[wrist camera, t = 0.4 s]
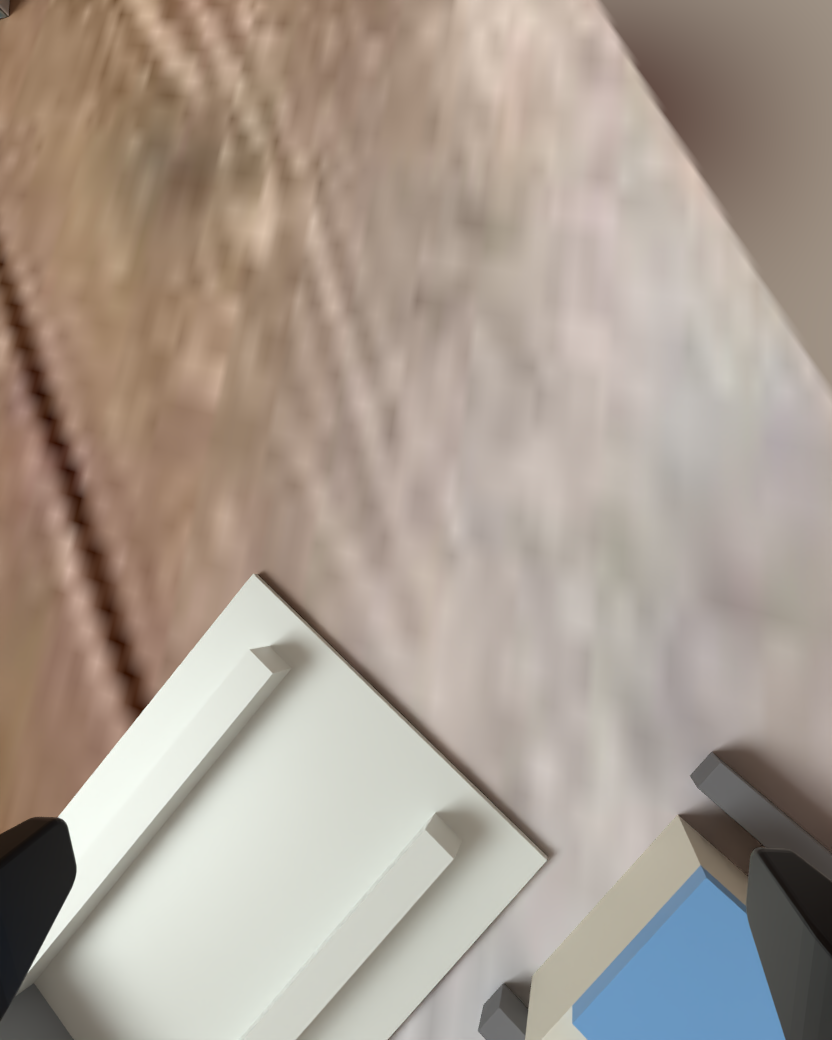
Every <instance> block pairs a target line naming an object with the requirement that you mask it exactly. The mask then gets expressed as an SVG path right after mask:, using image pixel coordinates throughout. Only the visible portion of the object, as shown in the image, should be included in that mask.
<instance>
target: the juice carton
mask: <svg viewBox="0 0 832 1040" xmlns="http://www.w3.org/2000/svg"><path fill="white" fill-rule="evenodd" d="M9 2H10V0H0V19H2V18H5V17H9Z"/></svg>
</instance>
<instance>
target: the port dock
mask: <svg viewBox="0 0 832 1040" xmlns="http://www.w3.org/2000/svg"><path fill="white" fill-rule="evenodd" d="M58 818H61V819H63V820H64V821H65V822H66V823H67V826H68V829H69V833H70V838H71V842H72V847H73V851H74V855H75V860H76V865H77V873H76V878H75V881H74V884H73V887H72V889H71V891H70V893H69V895H68V897H67V899H66V900H65V902H64V904H63V906H62V908H61V910H60V912H59V914H58V916H57V918H56V920H55V922H54V923H53V925H52V927H51V929H50V931H49V933H48V935H47V937H46V939H45V941H44V943H43V945H42V946H41V948H40V950H39V952H38V954H37V956H36V958H35V960H34V962H33V964H32V966H31V968H30V969H29V971H28V973H27V975H26V977H25V979H24V981H23V983H22V985H21V987H20V988H19V990H18V992H17V994H16V996H15V997H14V999H13V1001H12V1003H11V1005H10V1007H9V1008H8V1010H7V1012H6V1013H5V1015H4V1017H3V1018H2V1020H1V1022H0V1040H388V1039H389V1037H390V1036H391V1035H392V1034H393V1033H394V1032H395V1031H396V1030H397V1028H398V1027H399V1026H400V1025H401V1024H402V1023H403V1022H404V1021H405V1019H406V1018H407V1017H408V1016H409V1015H410V1014H411V1013H412V1012H413V1010H414V1009H415V1008H416V1007H417V1006H418V1005H419V1004H420V1003H421V1001H422V1000H423V999H424V998H425V997H426V996H427V995H428V994H429V992H430V991H431V990H432V989H433V988H434V987H435V986H436V985H437V983H438V982H439V981H440V980H441V979H442V978H443V977H444V976H445V974H446V973H447V972H448V971H449V970H450V969H451V968H452V967H453V965H454V964H455V963H456V962H457V961H458V960H459V959H460V958H461V956H462V955H463V954H464V953H465V952H466V951H467V950H468V949H469V947H470V946H471V945H472V944H473V943H474V942H475V941H476V940H477V939H478V937H479V936H480V935H481V934H482V933H483V932H484V931H485V930H486V928H487V927H488V926H489V925H490V924H491V923H492V922H493V921H494V919H495V918H496V917H497V916H498V915H499V914H500V913H501V912H502V910H503V909H504V908H505V907H506V906H507V905H508V904H509V903H510V901H511V900H512V899H513V898H514V897H515V896H516V895H517V894H518V892H519V891H520V890H521V889H522V888H523V887H524V886H525V885H526V883H527V882H528V881H529V880H530V879H531V878H532V877H533V876H534V874H535V873H536V872H537V871H538V870H539V869H540V868H541V867H542V865H543V864H544V863H545V862H546V861H547V856H546V855H545V854H544V853H543V852H542V851H541V850H540V849H539V848H538V847H537V846H536V845H535V844H534V843H533V842H532V841H531V840H530V839H529V838H528V837H527V836H526V835H525V834H524V833H523V832H522V831H521V830H520V829H519V828H518V827H517V826H516V825H515V824H514V823H513V822H511V821H510V820H509V819H508V818H507V817H506V816H505V815H504V814H503V813H502V812H501V811H500V810H499V809H498V808H497V807H496V806H495V805H494V804H493V803H492V802H491V801H490V800H489V799H488V798H487V797H486V796H485V795H484V794H483V793H482V792H481V791H480V790H479V789H478V788H477V787H475V786H474V785H473V784H472V783H471V782H470V781H469V780H468V779H467V778H466V777H465V776H464V775H463V774H462V773H461V772H460V771H459V770H458V769H457V768H456V767H455V766H454V765H453V764H452V763H451V762H450V761H449V760H448V759H447V758H446V757H445V756H444V755H443V754H442V753H441V752H440V751H438V750H437V749H436V748H435V747H434V746H433V745H432V744H431V743H430V742H429V741H428V740H427V739H426V738H425V737H424V736H423V735H422V734H421V733H420V732H419V731H418V730H417V729H416V728H415V727H414V726H413V725H412V724H411V723H410V722H409V721H408V720H407V719H406V718H405V717H404V716H402V715H401V714H400V713H399V712H398V711H397V710H396V709H395V708H394V707H393V706H392V705H391V704H390V703H389V702H388V701H387V700H386V699H385V698H384V697H383V696H382V695H381V694H380V693H379V692H378V691H377V690H376V689H375V688H374V687H373V686H372V685H371V684H370V683H369V682H368V681H367V680H365V679H364V678H363V677H362V676H361V675H360V674H359V673H358V672H357V671H356V670H355V669H354V668H353V667H352V666H351V665H350V664H349V663H348V662H347V661H346V660H345V659H344V658H343V657H342V656H341V655H340V654H339V653H338V652H337V651H336V650H335V649H334V648H333V647H332V646H331V645H329V644H328V643H327V642H326V641H325V640H324V639H323V638H322V637H321V636H320V635H319V634H318V633H317V632H316V631H315V630H314V629H313V628H312V627H311V626H310V625H309V624H308V623H307V622H306V621H305V620H304V619H303V618H302V617H301V616H300V615H299V614H298V613H297V612H296V611H295V610H293V609H292V608H291V607H290V606H289V605H288V604H287V603H286V602H285V601H284V600H283V599H282V598H281V597H280V596H279V595H278V594H277V593H276V592H275V591H274V590H273V589H272V588H271V587H270V586H269V585H268V584H267V583H266V582H265V581H264V580H263V579H262V578H261V577H260V576H259V575H258V574H253V575H252V576H251V577H250V578H249V580H248V581H247V582H246V583H245V585H244V586H243V587H242V588H241V590H240V591H239V592H238V593H237V595H236V596H235V597H234V598H233V599H232V601H231V602H230V603H229V604H228V606H227V607H226V608H225V609H224V611H223V612H222V613H221V614H220V616H219V617H218V618H217V619H216V621H215V622H214V623H213V624H212V626H211V627H210V628H209V629H208V631H207V632H206V633H205V634H204V636H203V637H202V638H201V639H200V641H199V642H198V643H197V644H196V646H195V647H194V648H193V649H192V651H191V652H190V653H189V654H188V656H187V657H186V658H185V659H184V661H183V662H182V663H181V664H180V666H179V667H178V668H177V669H176V671H175V672H174V673H173V674H172V676H171V677H170V678H169V679H168V681H167V682H166V683H165V684H164V686H163V687H162V688H161V689H160V691H159V692H158V693H157V694H156V696H155V697H154V698H153V699H152V701H151V702H150V703H149V704H148V706H147V707H146V708H145V709H144V711H143V712H142V713H141V714H140V716H139V717H138V718H137V719H136V720H135V722H134V723H133V724H132V725H131V727H130V728H129V729H128V730H127V732H126V733H125V734H124V735H123V737H122V738H121V739H120V740H119V742H118V743H117V744H116V745H115V747H114V748H113V749H112V750H111V752H110V753H109V754H108V755H107V757H106V758H105V759H104V760H103V762H102V763H101V764H100V765H99V767H98V768H97V769H96V770H95V772H94V773H93V774H92V775H91V777H90V778H89V779H88V780H87V782H86V783H85V784H84V785H83V787H82V788H81V789H80V790H79V792H78V793H77V794H76V795H75V797H74V798H73V799H72V800H71V802H70V803H69V804H68V805H67V807H66V808H65V809H64V810H63V812H62V813H61V814H60V815H59V817H58Z"/></svg>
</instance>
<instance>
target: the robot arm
mask: <svg viewBox="0 0 832 1040" xmlns="http://www.w3.org/2000/svg"><path fill="white" fill-rule="evenodd" d="M76 873H77V865H76V860H75V855H74V851H73V847H72V842H71V838H70V833H69V829H68V826H67V823H66V822H65V821H64V820H63V819H61V818H57V817H34V818H30V819H28V820H26V821H24V822H22V823H21V824H19V825H17V826H15V827H13V828H11V829H9V830H7V831H5V832H4V833H2V834H0V1022H1V1020H2V1018H3V1017H4V1015H5V1013H6V1012H7V1010H8V1008H9V1007H10V1005H11V1003H12V1001H13V999H14V997H15V996H16V994H17V992H18V990H19V988H20V987H21V985H22V983H23V981H24V979H25V977H26V975H27V973H28V971H29V969H30V968H31V966H32V964H33V962H34V960H35V958H36V956H37V954H38V952H39V950H40V948H41V946H42V945H43V943H44V941H45V939H46V937H47V935H48V933H49V931H50V929H51V927H52V925H53V923H54V922H55V920H56V918H57V916H58V914H59V912H60V910H61V908H62V906H63V904H64V902H65V900H66V899H67V897H68V895H69V893H70V891H71V889H72V887H73V884H74V881H75V878H76ZM746 911H747V918H748V922H749V926H750V929H751V933H752V936H753V939H754V942H755V945H756V948H757V951H758V955H759V958H760V961H761V964H762V967H763V970H764V974H765V977H766V980H767V983H768V986H769V989H770V993H771V996H772V999H773V1002H774V1005H775V1008H776V1012H777V1015H778V1018H779V1021H780V1024H781V1027H782V1030H783V1034H784V1037H785V1040H832V881H831V880H830V879H829V878H827V877H826V876H825V875H823V874H822V873H821V872H820V871H818V870H817V869H816V868H814V867H813V866H812V865H811V864H809V863H808V862H807V861H805V860H804V859H803V858H802V857H800V856H799V855H798V854H796V853H795V852H793V851H791V850H789V849H784V848H762V847H759V848H756V849H754V850H753V851H752V853H751V856H750V864H749V875H748V886H747V897H746Z"/></svg>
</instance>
